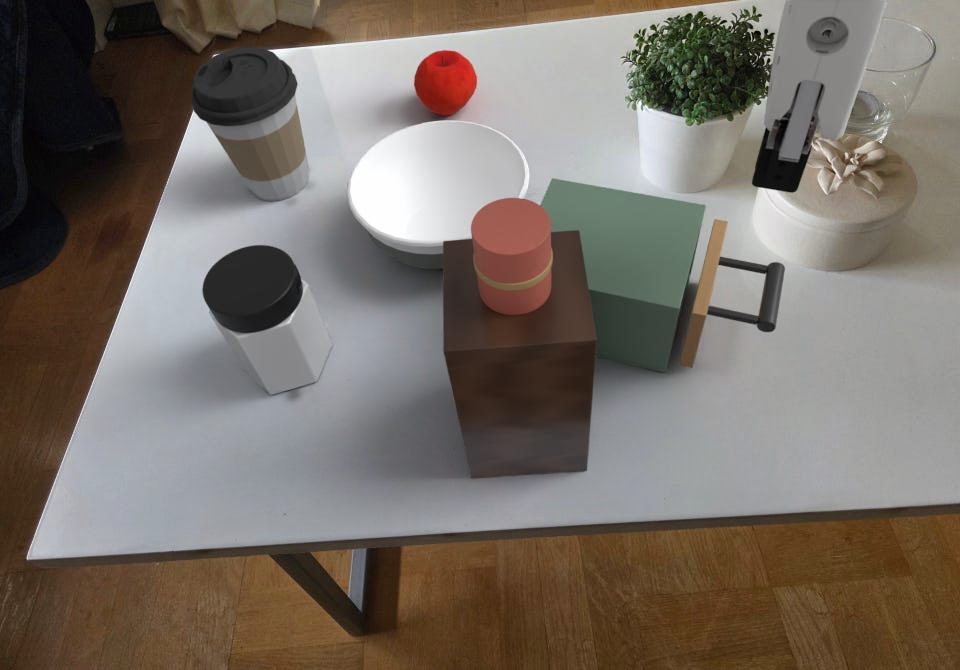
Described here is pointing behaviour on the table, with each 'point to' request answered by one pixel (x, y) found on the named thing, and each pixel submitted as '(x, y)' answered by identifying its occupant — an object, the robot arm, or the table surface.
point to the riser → (521, 367)
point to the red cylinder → (512, 255)
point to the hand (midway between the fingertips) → (775, 179)
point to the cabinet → (630, 265)
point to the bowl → (432, 186)
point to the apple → (445, 82)
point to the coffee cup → (254, 118)
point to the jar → (268, 317)
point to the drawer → (702, 308)
